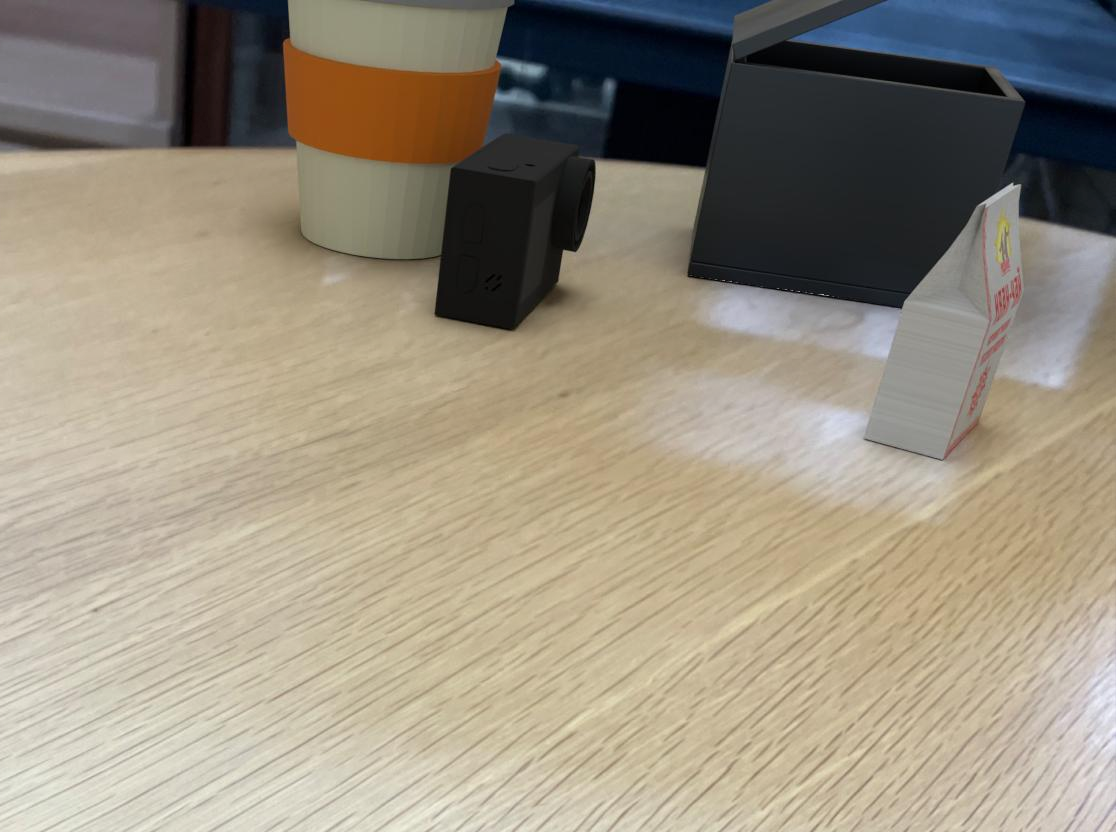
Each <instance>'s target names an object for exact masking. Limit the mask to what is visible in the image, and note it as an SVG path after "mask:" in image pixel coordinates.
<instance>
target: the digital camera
mask: <svg viewBox="0 0 1116 832" xmlns="http://www.w3.org/2000/svg"><path fill="white" fill-rule="evenodd" d="M579 154H580V146H579V145H578V144H571V143H566V142H560V141H554V140H548V139H541V138H536V137H530V136H523V135H518V134H513V133H503V134H501V135H500V136H498V137H496V138H494V139H493V140H491V141H490V142H488V143H486V144H484V145H483V147H482V148H480V149H479V150H477V151H476V152H474V153H473V154H471V155H470V156H468V157H467V158H465V159H464V160H462V161H461V162H459V163H458V164H457V165H455V166H454V167H452V168H451V171H450V179H449V188H448V197H447V206H446V215H445V224H444V233H443V242H442V251H441V255H440V260H439V261H440V262H439V270H438V278H437V289H436V297H435V307H434V315H435V316H437V317H445V318H451V319H457V320H462V321H467V322H471V323H472V322H473V323H477V324H481V325H482V324H483V325H488V326H493V327H498V328H503V329H508V330H513V329H514V328H515V327H517V326H518V324H519V323H521V322H522V321H523V320H524V319H525V317H526V316H528V314H529V313H530V312H531V311H532V310H533V309H534V308H535V307H536V306H537V305H538V304H539V303H540V302H541V300H542V299H543V298H544V297H546V296H547V294H548V293H549V292H550V291H551V290H552V289H553V288H554V287H555V286H556V285H557V284H558V283H559V280H560V274H561V267H562V260H563V255H564V251H567V252H572V253H577V252H578V251H579V249H580V247H581V245H582V242H583V239H584V238H585V235H586V234H585V233H586V230H587V227H588V224H589V219H590V215H591V210H592V205H593V199H594V194H595V186H596V177H597V175H596V174H597V171H596V169H597V168H596V161H595V159H594V158H586V157H581V156H580V155H579ZM579 156H580V157H579Z"/></svg>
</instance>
